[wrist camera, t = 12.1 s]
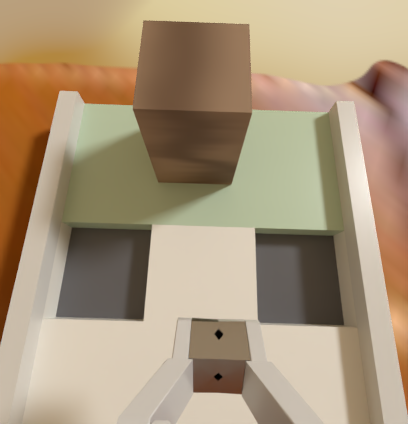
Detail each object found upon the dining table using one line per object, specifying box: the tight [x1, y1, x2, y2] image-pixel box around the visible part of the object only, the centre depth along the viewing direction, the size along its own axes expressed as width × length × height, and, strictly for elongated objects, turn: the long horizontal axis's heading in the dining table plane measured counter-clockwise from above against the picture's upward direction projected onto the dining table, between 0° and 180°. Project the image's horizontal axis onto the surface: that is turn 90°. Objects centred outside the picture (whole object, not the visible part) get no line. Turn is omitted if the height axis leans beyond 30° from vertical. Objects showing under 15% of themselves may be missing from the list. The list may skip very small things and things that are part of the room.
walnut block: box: [133, 21, 252, 185], centre depth 19 cm, size 6×6×9 cm
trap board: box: [0, 91, 408, 424], centre depth 20 cm, size 25×28×4 cm
